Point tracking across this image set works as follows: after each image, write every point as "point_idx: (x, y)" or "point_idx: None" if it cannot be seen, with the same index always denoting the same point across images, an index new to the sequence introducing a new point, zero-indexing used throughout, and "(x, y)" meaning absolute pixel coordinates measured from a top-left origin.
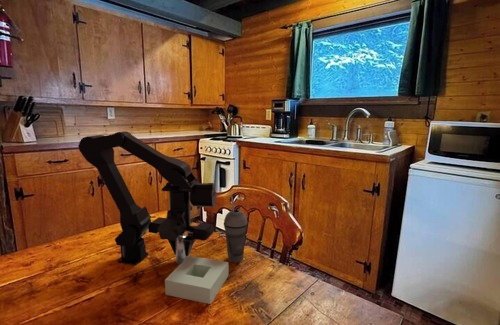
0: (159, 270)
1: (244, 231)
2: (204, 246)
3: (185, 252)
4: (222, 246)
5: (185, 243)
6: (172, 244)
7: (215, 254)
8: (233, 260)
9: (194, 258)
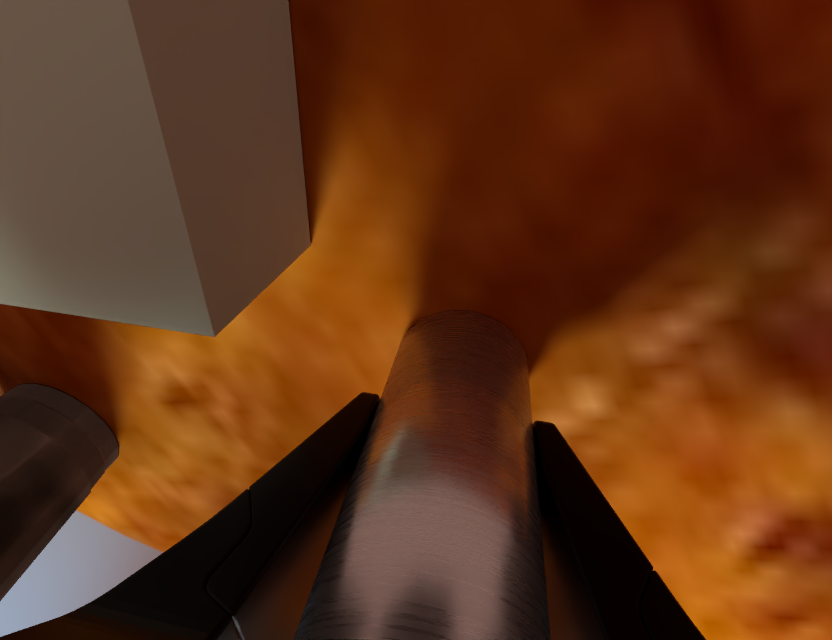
0: (701, 121)
1: None
2: None
3: (369, 433)
4: None
5: (313, 587)
6: (605, 580)
7: (231, 468)
8: (18, 395)
9: (72, 269)
